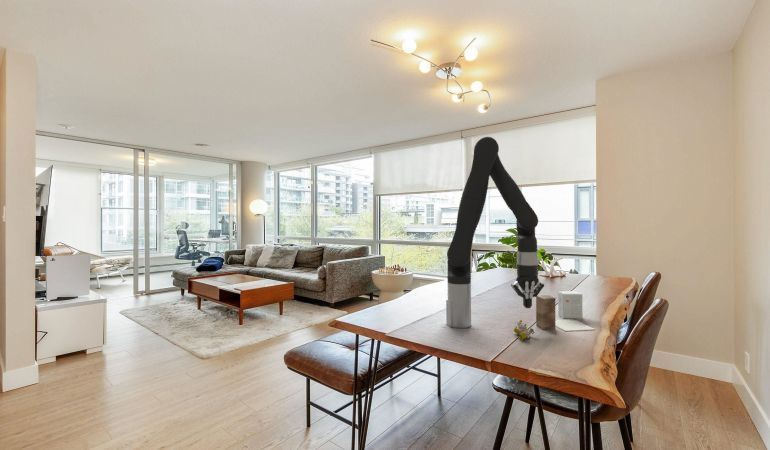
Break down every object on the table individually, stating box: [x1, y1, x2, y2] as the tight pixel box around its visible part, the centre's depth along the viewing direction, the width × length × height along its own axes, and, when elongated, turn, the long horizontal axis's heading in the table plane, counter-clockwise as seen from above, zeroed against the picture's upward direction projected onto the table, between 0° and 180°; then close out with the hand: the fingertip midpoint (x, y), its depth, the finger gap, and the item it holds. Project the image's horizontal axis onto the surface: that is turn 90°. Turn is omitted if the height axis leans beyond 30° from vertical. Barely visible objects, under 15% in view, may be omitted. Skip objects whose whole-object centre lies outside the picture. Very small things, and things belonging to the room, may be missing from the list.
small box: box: [557, 290, 584, 319], centre depth 151 cm, size 8×6×10 cm
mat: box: [555, 318, 596, 332], centre depth 140 cm, size 12×13×1 cm
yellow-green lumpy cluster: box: [513, 319, 536, 341], centre depth 130 cm, size 5×5×15 cm
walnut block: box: [535, 294, 556, 331], centre depth 138 cm, size 5×5×12 cm
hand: (527, 307), depth 137 cm, fingers closed
